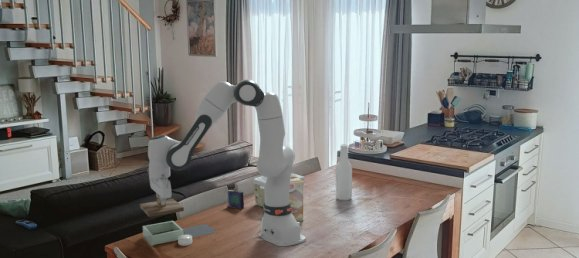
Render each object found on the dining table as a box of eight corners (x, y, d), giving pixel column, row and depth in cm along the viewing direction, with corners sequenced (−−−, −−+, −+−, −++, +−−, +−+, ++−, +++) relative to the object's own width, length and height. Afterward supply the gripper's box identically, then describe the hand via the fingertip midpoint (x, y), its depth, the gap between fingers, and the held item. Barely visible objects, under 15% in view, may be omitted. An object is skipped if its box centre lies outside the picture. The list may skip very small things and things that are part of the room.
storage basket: (287, 196, 293) (286, 170, 291) (306, 202, 281) (305, 176, 278) (252, 204, 278) (251, 178, 276) (270, 212, 266) (270, 184, 263)
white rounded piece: (194, 245, 222) (194, 238, 222) (180, 248, 219) (180, 240, 219) (189, 241, 228) (189, 233, 227) (176, 244, 225) (175, 236, 224)
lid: (183, 211, 226) (183, 199, 225) (149, 217, 218) (148, 205, 218) (173, 201, 239) (172, 190, 238) (140, 207, 231) (139, 196, 230)
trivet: (217, 234, 235) (217, 232, 235) (189, 240, 229) (189, 237, 229) (206, 225, 247) (206, 223, 246) (180, 231, 240) (180, 228, 240)
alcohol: (351, 196, 291) (352, 143, 287) (351, 200, 283) (352, 146, 278) (335, 195, 292) (336, 143, 287) (335, 200, 284) (335, 146, 279)
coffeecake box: (273, 223, 249) (273, 184, 245) (270, 219, 255) (269, 180, 252) (303, 220, 252) (303, 181, 249) (299, 216, 259) (299, 177, 256)
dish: (183, 240, 228) (183, 229, 227) (151, 247, 221) (151, 236, 221) (173, 231, 240) (173, 220, 239) (143, 236, 233) (142, 226, 232)
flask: (227, 207, 275) (226, 187, 273) (230, 205, 277) (229, 185, 276) (242, 209, 271) (242, 189, 269) (245, 207, 273) (244, 187, 272)
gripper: (174, 176, 219) (175, 208, 221) (160, 166, 236) (161, 196, 238) (159, 178, 215) (161, 210, 218) (146, 168, 233) (148, 198, 235)
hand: (161, 203), depth 228 cm, fingers closed on lid, 3 cm apart
